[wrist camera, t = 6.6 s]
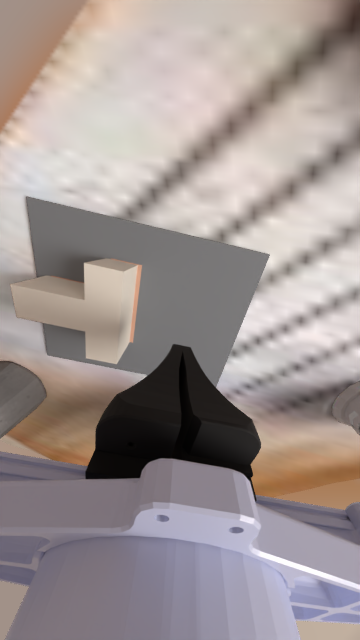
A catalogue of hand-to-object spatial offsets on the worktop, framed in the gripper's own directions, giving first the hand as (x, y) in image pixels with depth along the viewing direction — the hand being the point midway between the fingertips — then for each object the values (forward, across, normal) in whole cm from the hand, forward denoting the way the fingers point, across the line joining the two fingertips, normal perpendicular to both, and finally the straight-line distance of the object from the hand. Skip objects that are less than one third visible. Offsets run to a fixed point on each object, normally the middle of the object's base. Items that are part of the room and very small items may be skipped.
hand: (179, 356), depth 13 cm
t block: (+7, +10, 0) cm, 12 cm away
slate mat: (+7, +4, 0) cm, 9 cm away
